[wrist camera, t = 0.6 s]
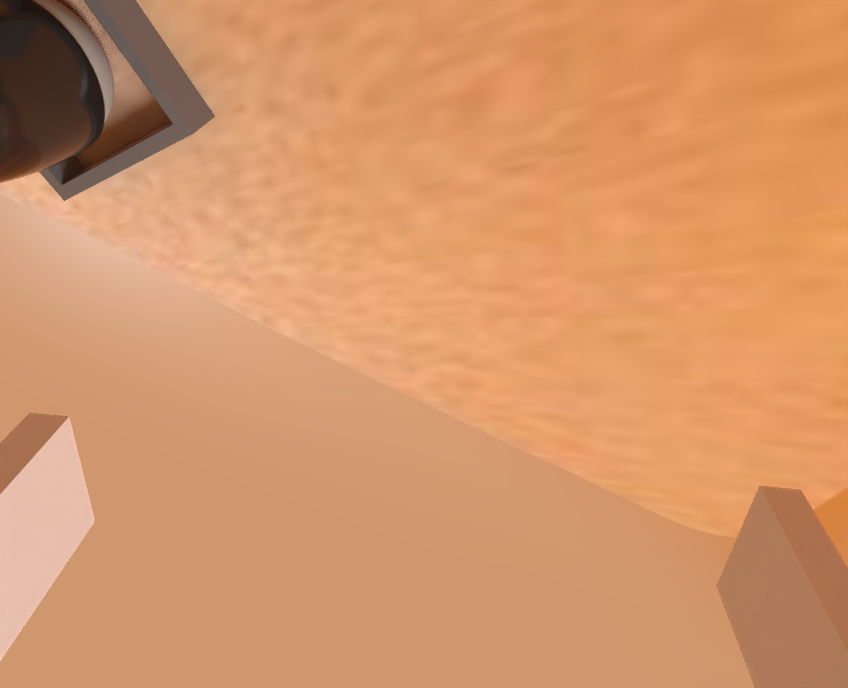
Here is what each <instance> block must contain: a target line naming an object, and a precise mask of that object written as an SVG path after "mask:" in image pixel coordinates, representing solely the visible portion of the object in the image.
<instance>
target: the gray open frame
mask: <svg viewBox="0 0 848 688" xmlns="http://www.w3.org/2000/svg"><path fill="white" fill-rule="evenodd" d="M84 1H85V3H86V4H87V6H88V7H89V8H90V10H91V11H92V12H93V14H94V15H95V17H96V18H97V19H98V21H99V22H100V24H101V25H102V26H103V28H104V29H105V30H106V32H107V33H108V35H109V36H110V37H111V39H112V40H113V42H114V43H115V44H116V46H117V47H118V48H119V50H120V51H121V53H122V54H123V55H124V57H125V58H126V60H127V61H128V62H129V64H130V65H131V66H132V68H133V69H134V71H135V72H136V73H137V75H138V76H139V78H140V79H141V80H142V82H143V83H144V84H145V86H146V87H147V89H148V90H149V91H150V93H151V94H152V95H153V97H154V98H155V100H156V101H157V102H158V104H159V105H160V107H161V108H162V109H163V111H164V112H165V113H166V115H167V116H168V118H169V119H170V120H171V122H169V123H167V124H165V125H164V126H162V127H160V128H158V129H156V130H154V131H153V132H151V133H149V134H147V135H145V136H144V137H142V138H140V139H138V140H136V141H135V142H133V143H131V144H129V145H127V146H125V147H124V148H122V149H120V150H118V151H116V152H115V153H113V154H111V155H109V156H107V157H106V158H104V159H102V160H100V161H98V162H96V163H95V164H93V165H91V166H89V167H87V168H86V169H84V168H83V167H82V166H81V164H80V163H79V162H78V161H77V160H76V158H75V157H72V158H70V159H68V160H65V161H63V162H61V163H59V164H56V165H54V166H52V167H49V168H47V169H44V170H42V171H39V172H40V173H41V174H42V176H43V177H44V178H45V179H46V180H47V181H48V182H49V184H50V185H51V186H52V187H53V188H54V189H55V191H56V192H57V193H58V194H59V195H60V196H61V198H62V199H63V200H64V201H65V200H67V199H69V198H71V197H73V196H74V195H76V194H78V193H80V192H82V191H84V190H86V189H88V188H90V187H92V186H94V185H96V184H97V183H99V182H101V181H103V180H105V179H107V178H109V177H111V176H113V175H115V174H117V173H119V172H120V171H122V170H124V169H126V168H128V167H130V166H132V165H134V164H136V163H138V162H140V161H142V160H143V159H145V158H147V157H149V156H151V155H153V154H155V153H157V152H159V151H161V150H163V149H165V148H166V147H168V146H170V145H172V144H174V143H176V142H178V141H180V140H182V139H184V138H186V137H188V136H189V135H191V134H193V133H195V132H196V131H197V130H198V129H200V128H201V127H202V126H203V125H205V124H206V123H207V122H208V121H210V120H211V119H212V118H214V117H215V116H214V115H213V113H212V112H211V110H210V109H209V107H208V106H207V104H206V103H205V101H204V100H203V99H202V97H201V96H200V94H199V93H198V91H197V90H196V88H195V87H194V85H193V84H192V82H191V81H190V80H189V78H188V77H187V75H186V74H185V72H184V71H183V69H182V68H181V66H180V65H179V63H178V62H177V61H176V59H175V58H174V56H173V55H172V53H171V52H170V50H169V49H168V47H167V46H166V44H165V43H164V42H163V40H162V39H161V37H160V36H159V34H158V33H157V31H156V30H155V28H154V27H153V25H152V24H151V23H150V21H149V20H148V18H147V17H146V15H145V14H144V12H143V11H142V9H141V8H140V7H139V5H138V4H137V2H136V1H135V0H84Z"/></svg>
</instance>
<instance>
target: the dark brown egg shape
mask: <svg viewBox="0 0 848 688" xmlns="http://www.w3.org/2000/svg"><path fill="white" fill-rule="evenodd" d="M113 98H114V81H113V75H112V70H111V67H110V63H109V61H108V58H107V56H106V54H105V51H104V49H103V48H102V46H101V44H100V42H99V41H98V39H97V38H96V36H95V35H94V33H93V32H92V31H91V30H90V28H89V27H88V26H87V25H86V24H85V23H84V22H83V21H82V20H81V19H80V18H79V17H78V16H77V15H76V14H75V13H73V12H72V11H71V10H70V9H68V8H67V7H65V6H64V5H62V4H61V3H59V2H57V1H56V0H0V183H2V182H6V181H10V180H14V179H17V178H21V177H24V176H27V175H30V174H33V173H36V172H39V171H42V170H44V169H47V168H49V167H52V166H54V165H56V164H59V163H61V162H63V161H65V160H68V159H70V158H72V157H74V156H76V155H78V154H79V153H81V152H83V151H84V150H86V149H87V148H89V147H90V146H91V145H92V144H94V143H95V142H96V140H97V139H98V138H99V136H100V134H101V132H102V130H103V126H104V123H105V122H106V120H107V118H108V116H109V114H110V111H111V108H112V104H113Z"/></svg>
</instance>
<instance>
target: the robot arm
mask: <svg viewBox="0 0 848 688" xmlns="http://www.w3.org/2000/svg"><path fill="white" fill-rule="evenodd" d="M94 521H95V520H94V516H93V512H92V508H91V504H90V500H89V496H88V491H87V488H86V484H85V479H84V475H83V471H82V467H81V463H80V459H79V455H78V451H77V447H76V442H75V438H74V434H73V430H72V426H71V422H70V418H69V417H68V416H58V415H47V414H37V413H29V414H28V415H27V416H26V417H25V418H24V419H23V420H22V421H21V422H20V423H19V424H18V426H17V427H16V428H15V429H14V430H13V431H12V432H11V433H10V434H9V435H8V436H7V437H6V438H5V439H4V440H3V441H2V442H1V443H0V661H1V659H2V658H3V656H4V655H5V653H6V652H7V650H8V649H9V647H10V646H11V644H12V643H13V641H14V640H15V638H16V637H17V636H18V634H19V633H20V631H21V630H22V628H23V627H24V625H25V624H26V622H27V621H28V619H29V618H30V616H31V615H32V613H33V612H34V610H35V609H36V607H37V606H38V605H39V603H40V601H41V600H42V598H43V597H44V596H45V594H46V593H47V591H48V590H49V588H50V587H51V585H52V584H53V582H54V581H55V579H56V578H57V576H58V575H59V573H60V572H61V570H62V569H63V568H64V566H65V565H66V563H67V562H68V560H69V559H70V557H71V556H72V554H73V553H74V551H75V550H76V548H77V547H78V545H79V544H80V542H81V541H82V539H83V538H84V536H85V535H86V533H87V532H88V531H89V529H90V527H91V526H92V525H93V523H94ZM717 588H718V591H719V593H720V596H721V599H722V601H723V604H724V607H725V609H726V612H727V614H728V617H729V620H730V622H731V625H732V628H733V631H734V633H735V636H736V639H737V641H738V644H739V646H740V649H741V651H742V654H743V657H744V659H745V662H746V665H747V668H748V670H749V673H750V676H751V678H752V681H753V684H754V686H755V688H848V567H847V566H846V564H845V563H844V561H843V560H842V557H841V556H840V554H839V552H838V551H837V549H836V548H835V546H834V544H833V542H832V541H831V539H830V537H829V536H828V534H827V532H826V531H825V529H824V527H823V526H822V524H821V522H820V521H819V519H818V517H817V516H816V514H815V512H814V511H813V509H812V507H811V506H810V504H809V502H808V501H807V499H806V498H805V496H804V494H803V493H802V491H801V490H797V489H787V488H777V487H767V486H759V488H758V490H757V493H756V495H755V497H754V500H753V502H752V504H751V507H750V509H749V511H748V514H747V516H746V518H745V521H744V523H743V525H742V528H741V530H740V532H739V535H738V537H737V539H736V542H735V544H734V546H733V549H732V551H731V553H730V556H729V558H728V561H727V563H726V565H725V568H724V570H723V572H722V575H721V577H720V579H719V582H718V584H717Z"/></svg>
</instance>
